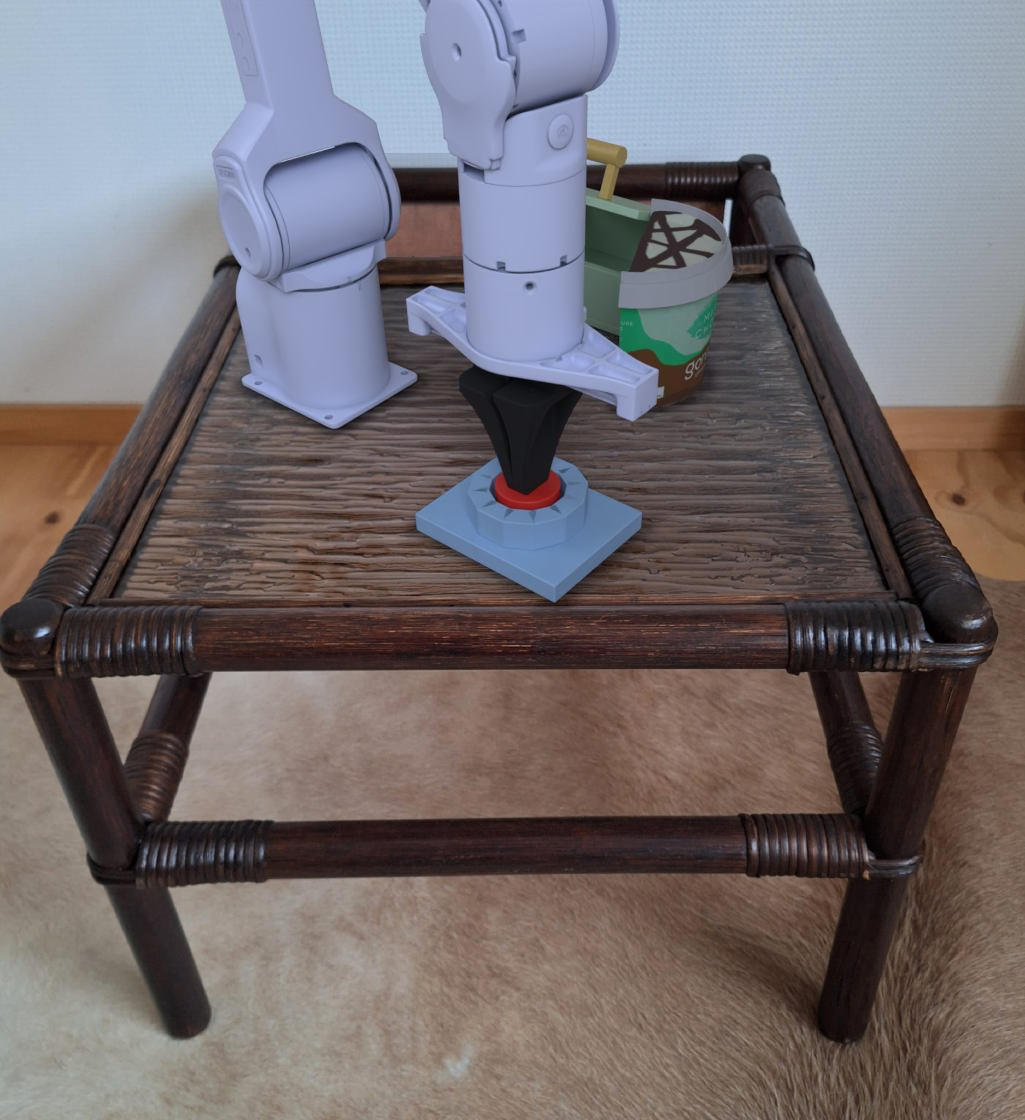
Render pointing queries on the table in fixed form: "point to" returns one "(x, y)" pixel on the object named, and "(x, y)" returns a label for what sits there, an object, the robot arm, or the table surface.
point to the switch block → (531, 529)
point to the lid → (612, 182)
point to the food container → (674, 295)
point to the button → (533, 501)
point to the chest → (607, 264)
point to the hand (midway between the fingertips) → (527, 483)
